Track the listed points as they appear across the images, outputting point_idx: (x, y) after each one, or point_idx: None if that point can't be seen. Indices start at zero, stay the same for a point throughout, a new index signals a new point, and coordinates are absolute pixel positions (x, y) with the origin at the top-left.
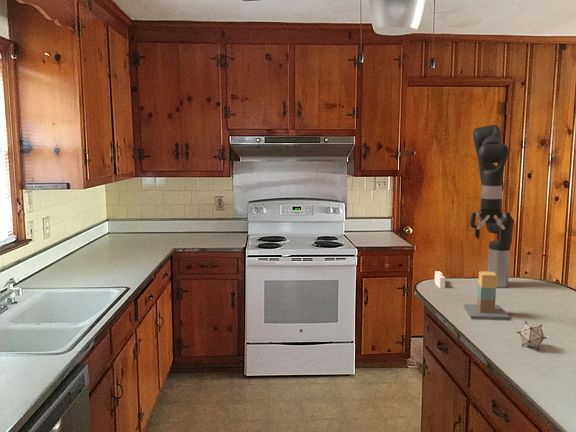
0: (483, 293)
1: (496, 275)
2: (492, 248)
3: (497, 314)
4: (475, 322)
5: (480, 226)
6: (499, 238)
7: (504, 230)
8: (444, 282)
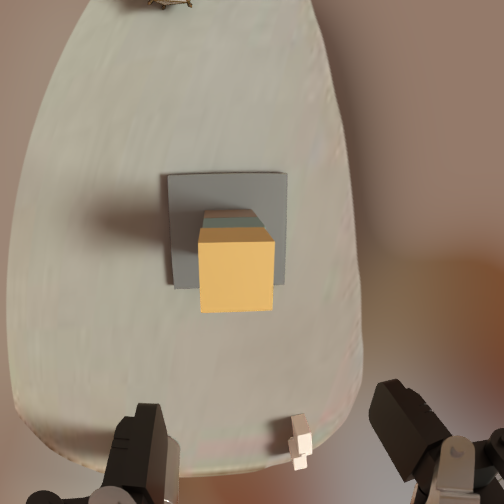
0: (251, 221)
1: (201, 243)
2: None
3: (199, 195)
4: (278, 143)
5: (443, 474)
6: (165, 429)
7: (103, 481)
8: (296, 426)
